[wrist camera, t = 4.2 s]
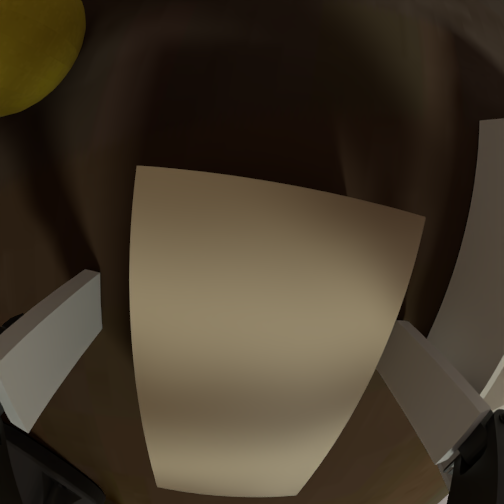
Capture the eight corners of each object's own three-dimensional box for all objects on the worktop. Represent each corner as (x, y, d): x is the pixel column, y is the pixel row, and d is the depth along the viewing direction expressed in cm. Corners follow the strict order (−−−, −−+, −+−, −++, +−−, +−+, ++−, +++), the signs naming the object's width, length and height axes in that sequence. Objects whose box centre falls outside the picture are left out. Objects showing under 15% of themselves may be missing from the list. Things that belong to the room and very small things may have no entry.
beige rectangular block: (282, 421, 13) (296, 495, 8) (172, 411, 12) (157, 486, 8) (345, 196, 10) (425, 216, 5) (185, 170, 9) (136, 165, 5)
